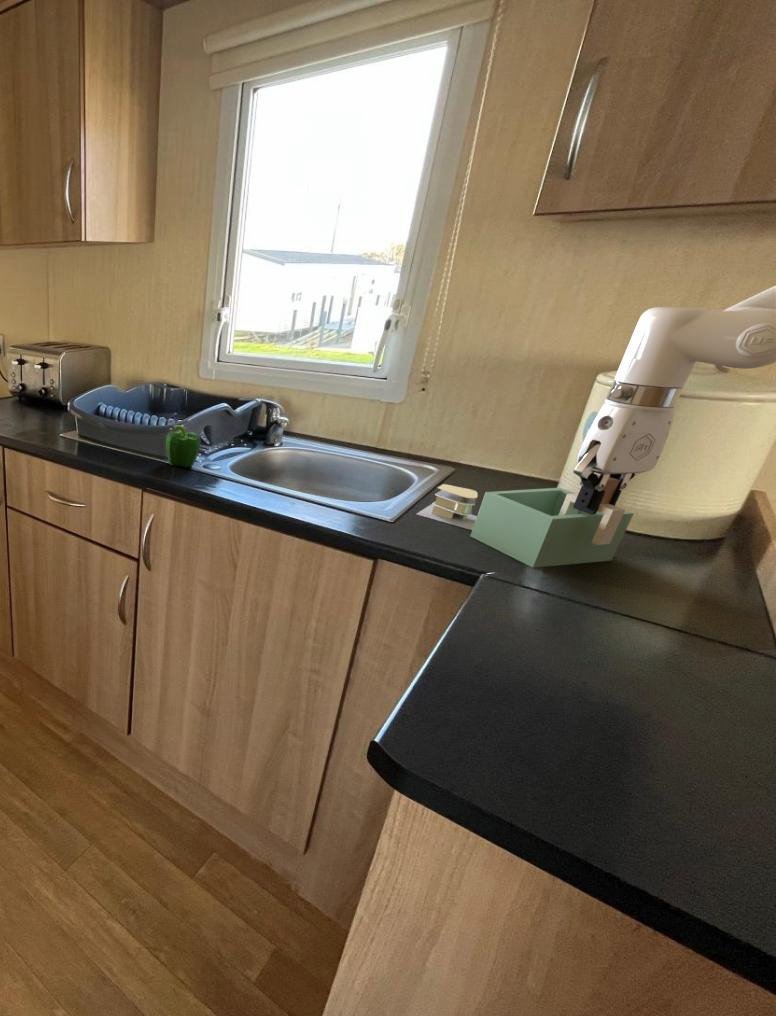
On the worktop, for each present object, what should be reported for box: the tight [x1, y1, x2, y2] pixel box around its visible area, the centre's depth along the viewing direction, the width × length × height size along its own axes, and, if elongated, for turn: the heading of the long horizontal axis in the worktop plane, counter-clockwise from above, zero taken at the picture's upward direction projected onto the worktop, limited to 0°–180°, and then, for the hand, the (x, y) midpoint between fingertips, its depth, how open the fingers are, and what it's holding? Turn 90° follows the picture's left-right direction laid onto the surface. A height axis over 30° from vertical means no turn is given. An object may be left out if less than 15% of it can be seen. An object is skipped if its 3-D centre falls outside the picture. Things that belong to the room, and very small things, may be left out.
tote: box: [470, 487, 634, 569], centre depth 96 cm, size 16×12×9 cm
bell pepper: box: [165, 425, 201, 468], centre depth 136 cm, size 8×8×10 cm
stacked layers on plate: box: [416, 483, 479, 531], centre depth 109 cm, size 10×9×6 cm
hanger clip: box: [559, 475, 626, 545], centre depth 89 cm, size 2×7×10 cm, turn 11°
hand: (592, 509), depth 89 cm, fingers closed on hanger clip, 2 cm apart
